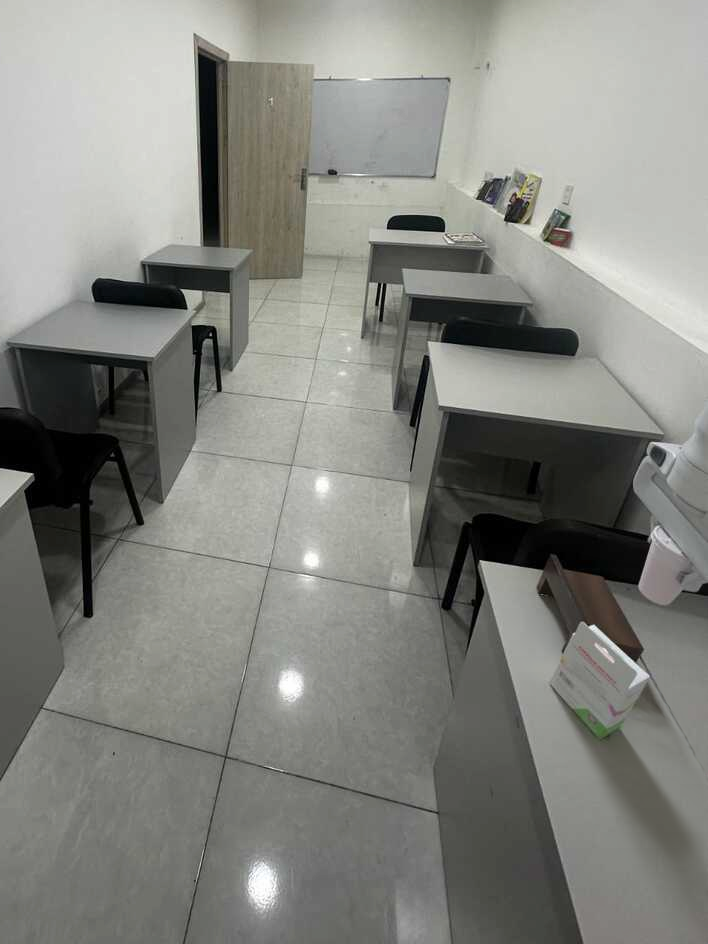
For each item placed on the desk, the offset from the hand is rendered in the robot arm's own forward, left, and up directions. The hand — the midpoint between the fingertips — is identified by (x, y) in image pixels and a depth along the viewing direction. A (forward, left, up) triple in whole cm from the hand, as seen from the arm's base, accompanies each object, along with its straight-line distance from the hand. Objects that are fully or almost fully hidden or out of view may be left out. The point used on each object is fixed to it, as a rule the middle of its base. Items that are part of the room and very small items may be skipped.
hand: (670, 565), depth 65 cm
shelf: (-1, -11, -27) cm, 29 cm away
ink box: (+4, +3, -27) cm, 27 cm away
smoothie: (0, 0, -6) cm, 6 cm away
